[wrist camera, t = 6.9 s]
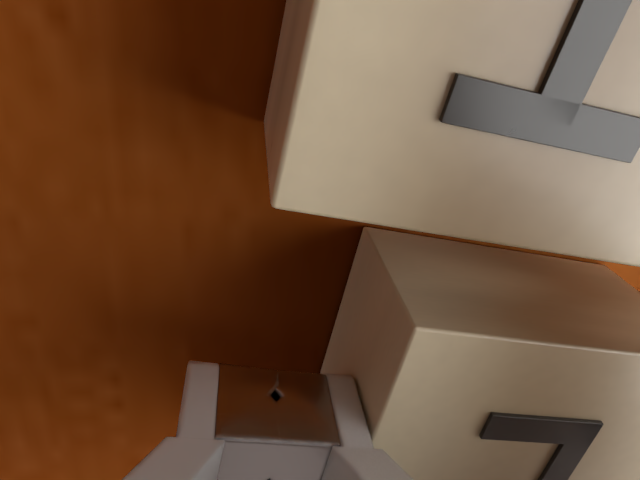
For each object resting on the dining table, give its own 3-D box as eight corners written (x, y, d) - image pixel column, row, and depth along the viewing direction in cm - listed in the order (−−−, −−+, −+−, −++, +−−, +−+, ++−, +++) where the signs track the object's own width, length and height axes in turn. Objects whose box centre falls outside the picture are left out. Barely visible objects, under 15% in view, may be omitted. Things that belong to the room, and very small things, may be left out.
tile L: (604, 264, 11) (741, 368, 8) (506, 445, 13) (582, 578, 10) (363, 225, 9) (416, 331, 6) (301, 433, 12) (320, 580, 9)
